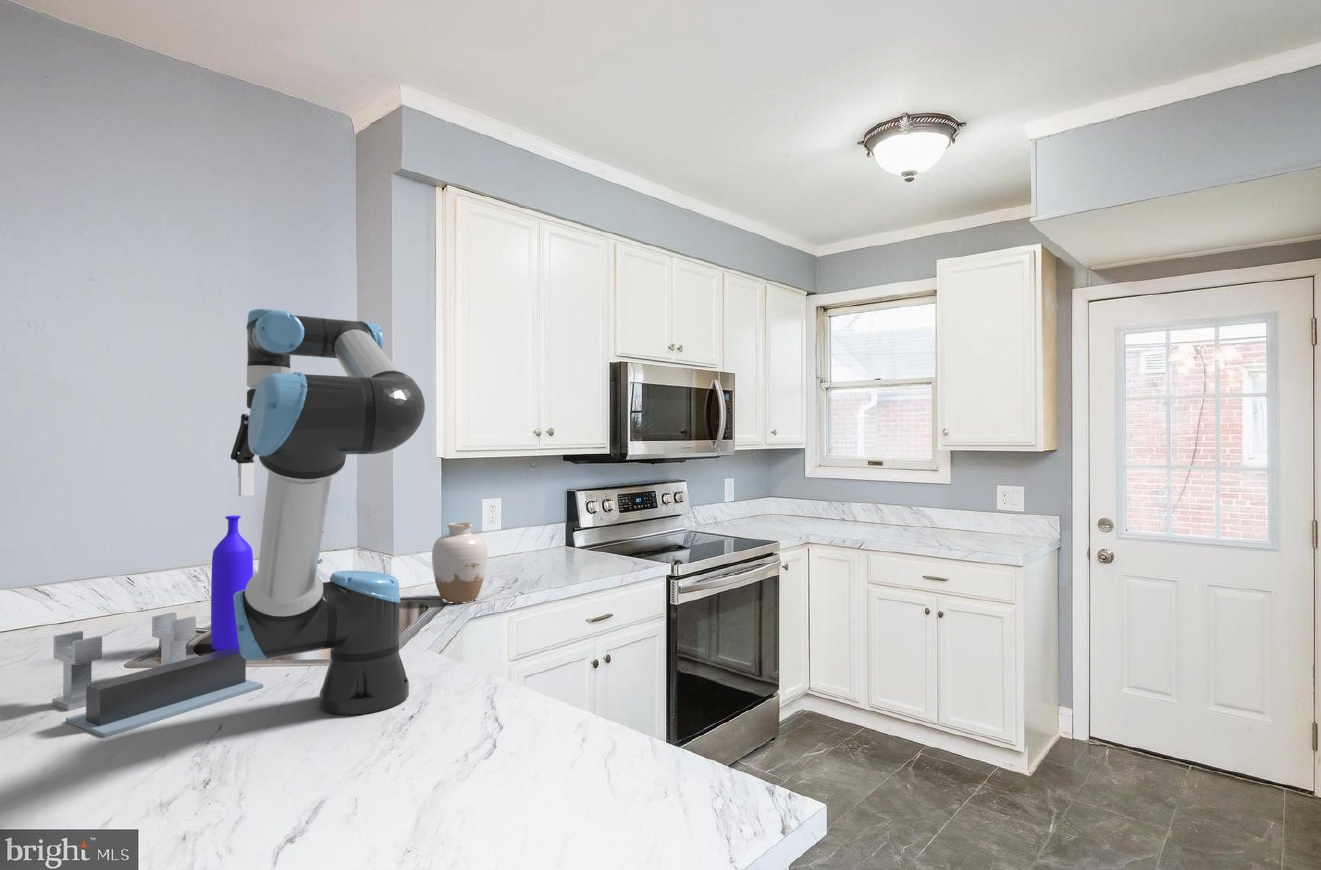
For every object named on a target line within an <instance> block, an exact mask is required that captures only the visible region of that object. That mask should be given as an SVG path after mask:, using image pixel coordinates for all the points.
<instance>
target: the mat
mask: <svg viewBox="0 0 1321 870" xmlns="http://www.w3.org/2000/svg"><path fill="white" fill-rule="evenodd" d="M262 688H264V683H261V682H257V681H254V680H253V681H252V680H250V679H246V682H245V683H242V684H238V685H235V686H232V687H228V688H225V689H222V690H218V691H215V692H212V693H209V694H205V695H202V696H199V697H195V698H192V699H189V700H185V701H182V702H179V703H176V704H172V705H169V706H166V707H162V708H159V709H156V710H152V711H149V712H146V713H142V714H139V715H136V716H133V717H129V718H126V719H123V720H119V721H116V722H113V723H109V724H106V725H103V726H97V725H95V724H92V723H89V722H87V721H86V712H83V713H79V714H76V715H73V716H69V717H66V718H65V723H68V724H71V725H73V726H76V727H78V728H81V729H83V730H86V731H88V732H90V733H94V734H96V735H98V736H101V737H103V738H107V737H111V736H113V735H117V734H119V733H123V732H126V731H129V730H133V729H135V728H136V729H137V728H140V727H142V726H145V725H150V724H152V723H155V722H158V721H161V720H164V719H169V718H171V717H174V716H177V715H180V714H184V713H186V712H191V711H193V710H196V709H200V708H202V707H205V706H208V705H212V704H215V703H218V702H221V701H225V700H228V699H230V698H231V699H232V698H234V697H237V696H240V695H244V694H246V693H249V692H250V693H251V692H253V691H256V690H260V689H262Z"/></svg>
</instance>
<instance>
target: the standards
mask: <svg viewBox="0 0 1321 870" xmlns="http://www.w3.org/2000/svg"><path fill="white" fill-rule="evenodd" d="M151 618H152V620H151V636H152V638H156V639H160V640H161V646H160V647H161V649H160V650H161V651H160V653H161V658H160V659H161V663H160V664H161V665H160V666H163V665H167V664H171V663H175V662H179V661H183V660H187V640H190V639H195V638H196V637H197V636H196V635H197V632H196V631H197V617H196V616H189V617H184V618H179V619H177V612H174V611H173V612H169V613H164V614H160V615H154V616H152V617H151ZM53 659H55V660H58V661H61V662H63V663H62V664H63V669H62V670H63V671H62V672H63V674H62V675H63V676H62V684H63V686H62V689H63V691H62V696H58V697H54V698H52V701H51V702H52V703H51V704H52V706H54V707H58V708H60V709H63V710H65V711H72V710H76V709H79V708H83V707H86V685H89V684H92V668H93V667H92V665H93V663H92V662H94V661H98V660H99V661H100V660H102V659H103V636H101V635H96V636H92V637H88V638H87V637H86V638H84V631H83V630H78V631H73V632H67V633H63V634H57V635H53Z"/></svg>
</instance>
